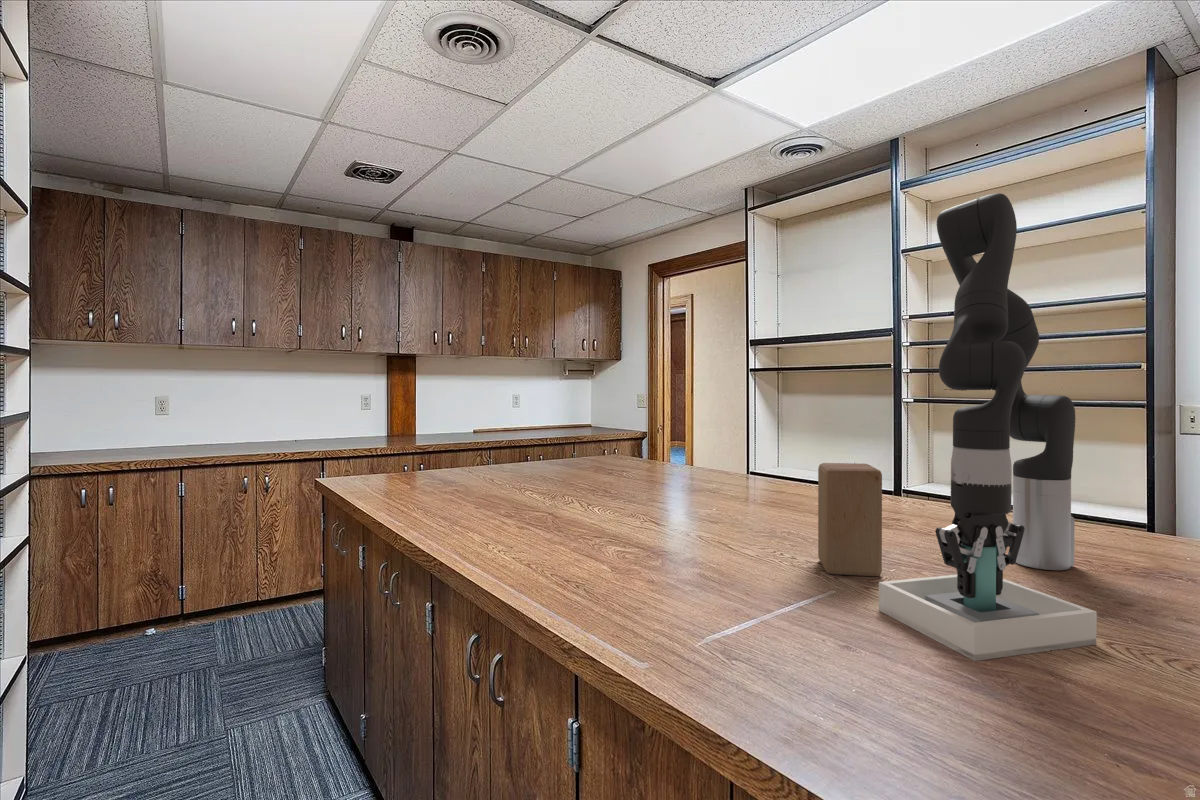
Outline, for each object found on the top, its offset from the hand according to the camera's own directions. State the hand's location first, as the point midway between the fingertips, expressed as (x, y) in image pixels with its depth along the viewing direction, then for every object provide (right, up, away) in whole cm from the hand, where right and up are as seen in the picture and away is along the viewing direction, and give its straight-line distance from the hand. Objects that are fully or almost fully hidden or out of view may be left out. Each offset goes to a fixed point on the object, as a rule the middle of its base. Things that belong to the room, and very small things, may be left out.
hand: (979, 594), depth 88 cm
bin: (0, -5, 0) cm, 5 cm away
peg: (0, -3, 0) cm, 3 cm away
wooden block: (-8, -4, +28) cm, 29 cm away
